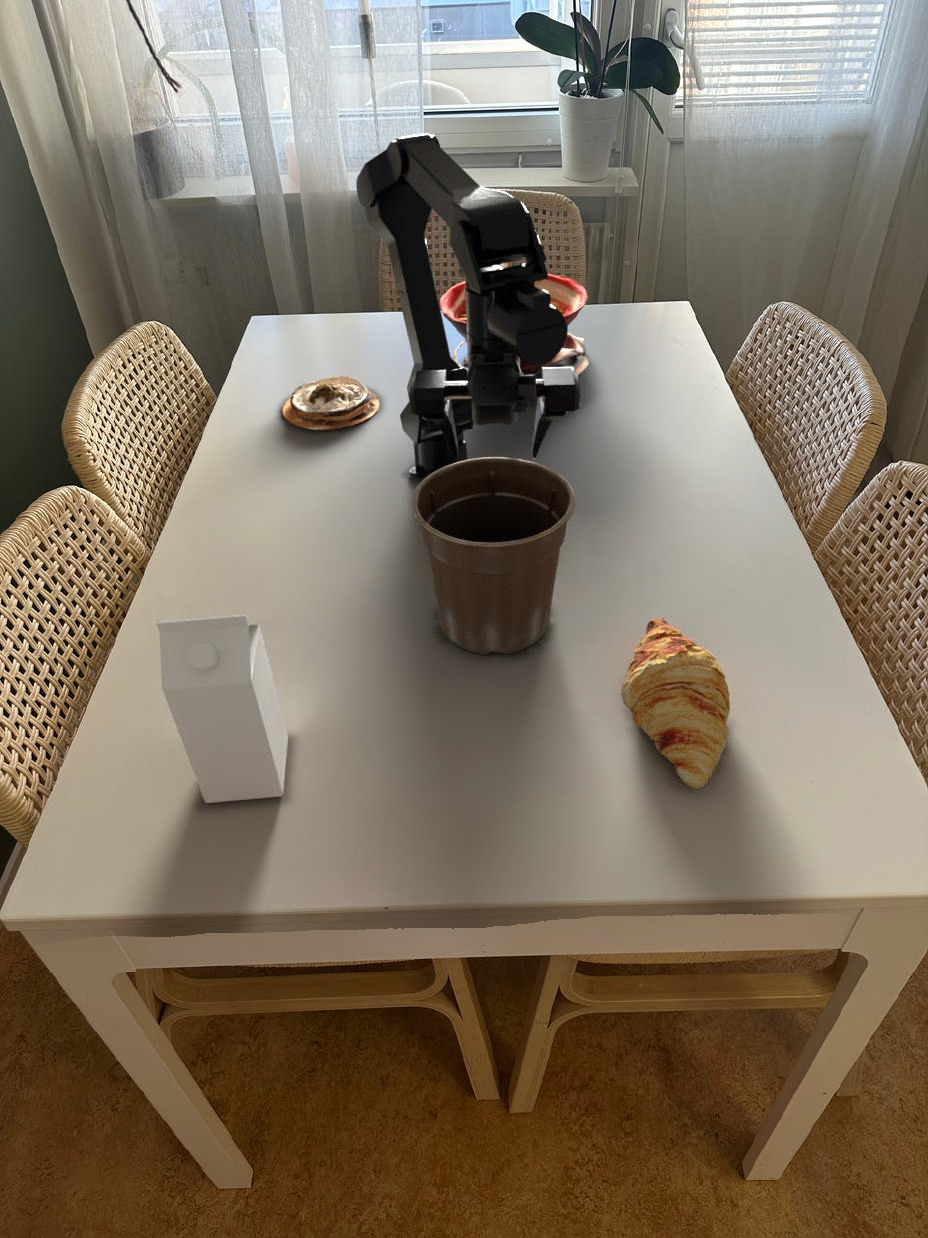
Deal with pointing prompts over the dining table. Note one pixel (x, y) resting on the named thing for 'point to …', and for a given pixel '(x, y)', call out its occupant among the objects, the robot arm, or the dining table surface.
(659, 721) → the croissant
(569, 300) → the stew
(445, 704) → the dining table surface
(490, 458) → the plant pot
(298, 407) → the stacked pancakes
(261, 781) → the milk carton
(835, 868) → the dining table surface
